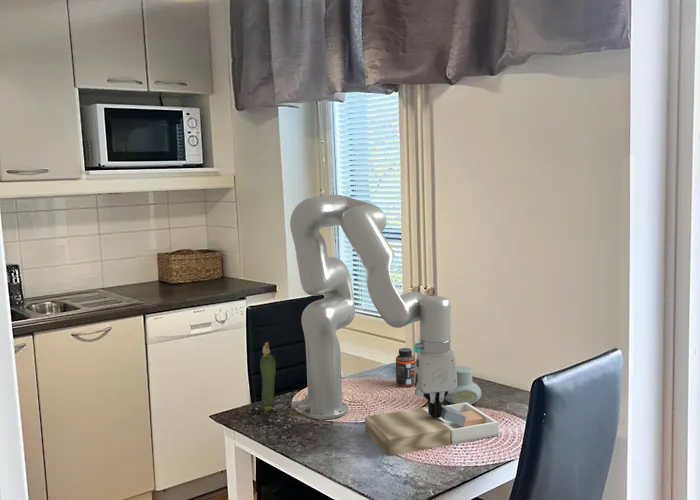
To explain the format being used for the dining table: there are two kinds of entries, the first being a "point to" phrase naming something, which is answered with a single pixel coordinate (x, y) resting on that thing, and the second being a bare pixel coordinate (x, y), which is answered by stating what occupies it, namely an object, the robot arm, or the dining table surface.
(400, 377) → the supplement bottle
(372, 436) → the board
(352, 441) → the dining table surface
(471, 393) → the air freshener
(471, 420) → the tile
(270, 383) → the vegetable
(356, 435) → the dining table surface
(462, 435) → the box
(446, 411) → the tile
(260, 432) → the dining table surface
